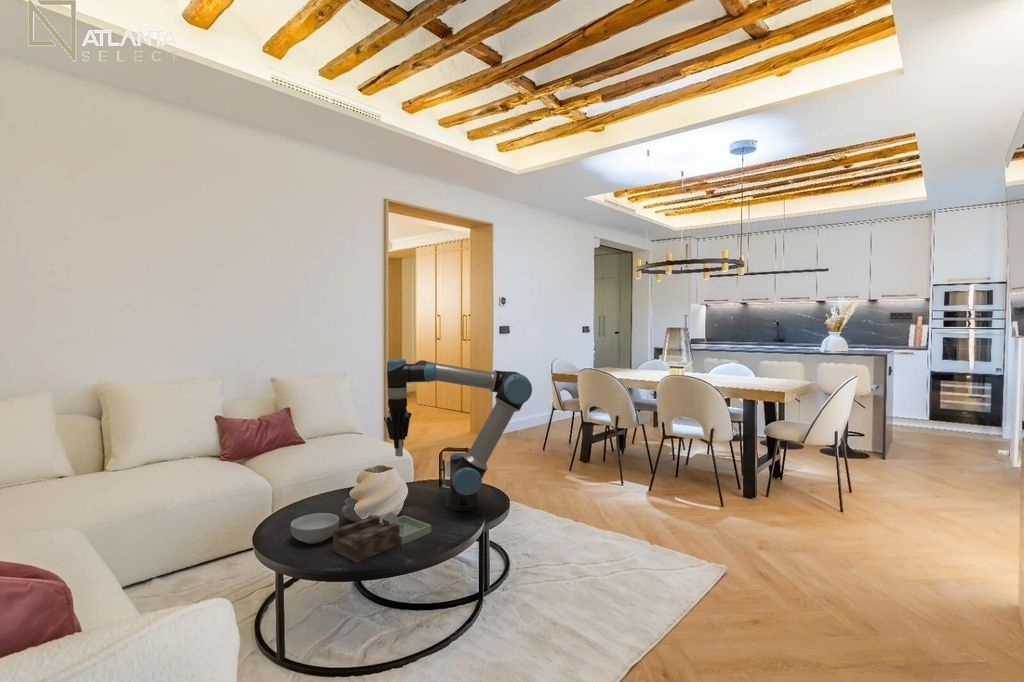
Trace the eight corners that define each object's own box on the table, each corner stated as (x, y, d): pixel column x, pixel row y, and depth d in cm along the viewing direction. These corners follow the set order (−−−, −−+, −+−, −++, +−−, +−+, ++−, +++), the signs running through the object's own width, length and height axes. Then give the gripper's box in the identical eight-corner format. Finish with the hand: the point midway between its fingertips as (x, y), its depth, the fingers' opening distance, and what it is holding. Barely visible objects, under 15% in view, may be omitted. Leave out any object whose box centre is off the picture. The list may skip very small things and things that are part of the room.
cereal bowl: (348, 534, 196) (348, 516, 196) (317, 552, 181) (316, 532, 180) (313, 527, 202) (313, 509, 202) (280, 544, 187) (280, 525, 187)
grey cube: (388, 535, 194) (396, 531, 197) (395, 537, 192) (403, 534, 195) (388, 524, 194) (396, 521, 197) (395, 527, 192) (403, 524, 195)
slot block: (375, 534, 196) (375, 515, 195) (399, 544, 187) (399, 524, 187) (333, 551, 182) (332, 530, 181) (356, 562, 173) (356, 540, 173)
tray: (404, 522, 208) (404, 515, 208) (431, 532, 198) (431, 525, 198) (375, 533, 197) (375, 525, 197) (402, 545, 187) (402, 537, 187)
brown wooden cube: (392, 521, 196) (390, 512, 194) (399, 523, 193) (396, 514, 192) (384, 527, 193) (381, 518, 192) (391, 530, 190) (388, 521, 189)
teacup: (362, 512, 218) (362, 493, 218) (377, 518, 212) (377, 499, 211) (332, 522, 208) (332, 502, 207) (347, 529, 201) (347, 508, 200)
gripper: (403, 394, 215) (404, 451, 216) (378, 399, 204) (380, 458, 205) (415, 396, 210) (417, 453, 211) (391, 400, 200) (393, 461, 201)
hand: (399, 455), depth 208 cm, fingers closed
